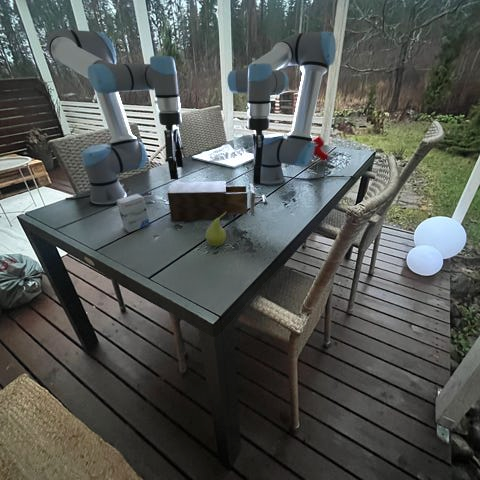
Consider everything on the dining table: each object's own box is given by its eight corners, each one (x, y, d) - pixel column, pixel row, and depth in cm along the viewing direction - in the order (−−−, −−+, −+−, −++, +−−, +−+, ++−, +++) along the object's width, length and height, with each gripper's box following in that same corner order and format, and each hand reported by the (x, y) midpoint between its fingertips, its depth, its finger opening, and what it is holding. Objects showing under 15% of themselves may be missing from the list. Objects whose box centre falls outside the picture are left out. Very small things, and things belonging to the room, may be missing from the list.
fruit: (204, 241, 94) (201, 210, 88) (224, 237, 97) (223, 206, 90) (209, 251, 89) (206, 219, 83) (230, 246, 91) (229, 215, 85)
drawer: (264, 205, 117) (265, 183, 112) (267, 215, 109) (269, 192, 103) (204, 206, 116) (202, 184, 111) (203, 217, 108) (201, 194, 102)
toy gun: (332, 155, 171) (320, 134, 167) (331, 157, 167) (319, 136, 164) (306, 170, 181) (294, 151, 177) (306, 172, 177) (293, 153, 174)
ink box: (144, 220, 108) (137, 192, 101) (150, 224, 105) (144, 196, 98) (123, 228, 103) (115, 199, 96) (129, 232, 100) (121, 203, 93)
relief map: (234, 168, 162) (234, 159, 159) (192, 158, 180) (191, 150, 177) (259, 157, 180) (259, 149, 178) (219, 149, 198) (218, 142, 195)
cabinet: (226, 207, 117) (225, 181, 111) (226, 219, 108) (225, 191, 102) (176, 208, 117) (172, 182, 110) (171, 221, 107) (167, 193, 101)
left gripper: (165, 106, 101) (173, 163, 113) (148, 117, 81) (160, 185, 92) (185, 106, 102) (191, 162, 113) (174, 117, 81) (182, 184, 92)
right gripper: (246, 114, 98) (246, 176, 111) (248, 120, 88) (248, 188, 100) (267, 113, 99) (264, 176, 111) (272, 119, 88) (268, 188, 100)
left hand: (177, 172), depth 103 cm, fingers open, 13 cm apart
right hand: (256, 182), depth 106 cm, fingers closed
